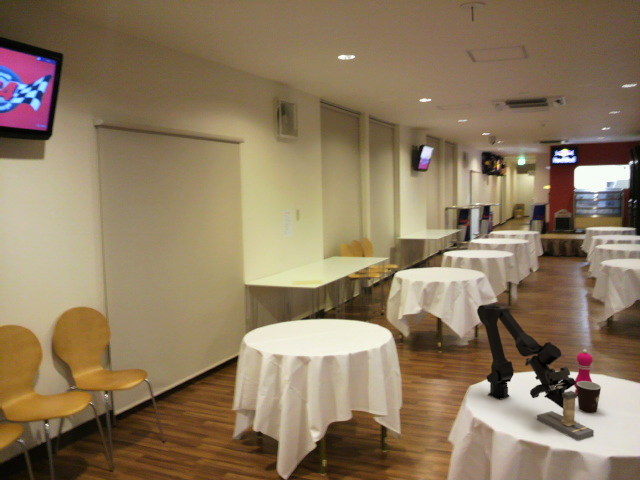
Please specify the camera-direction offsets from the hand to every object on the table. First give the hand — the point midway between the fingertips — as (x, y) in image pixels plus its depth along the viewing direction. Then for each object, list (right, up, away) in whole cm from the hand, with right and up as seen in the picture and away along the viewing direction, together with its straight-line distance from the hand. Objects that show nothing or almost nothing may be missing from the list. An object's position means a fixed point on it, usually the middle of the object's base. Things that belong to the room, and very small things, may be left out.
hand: (566, 409), depth 192 cm
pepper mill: (+22, -4, +31) cm, 38 cm away
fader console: (0, -7, +1) cm, 7 cm away
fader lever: (+1, -5, -1) cm, 5 cm away
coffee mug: (+18, -6, +17) cm, 25 cm away
